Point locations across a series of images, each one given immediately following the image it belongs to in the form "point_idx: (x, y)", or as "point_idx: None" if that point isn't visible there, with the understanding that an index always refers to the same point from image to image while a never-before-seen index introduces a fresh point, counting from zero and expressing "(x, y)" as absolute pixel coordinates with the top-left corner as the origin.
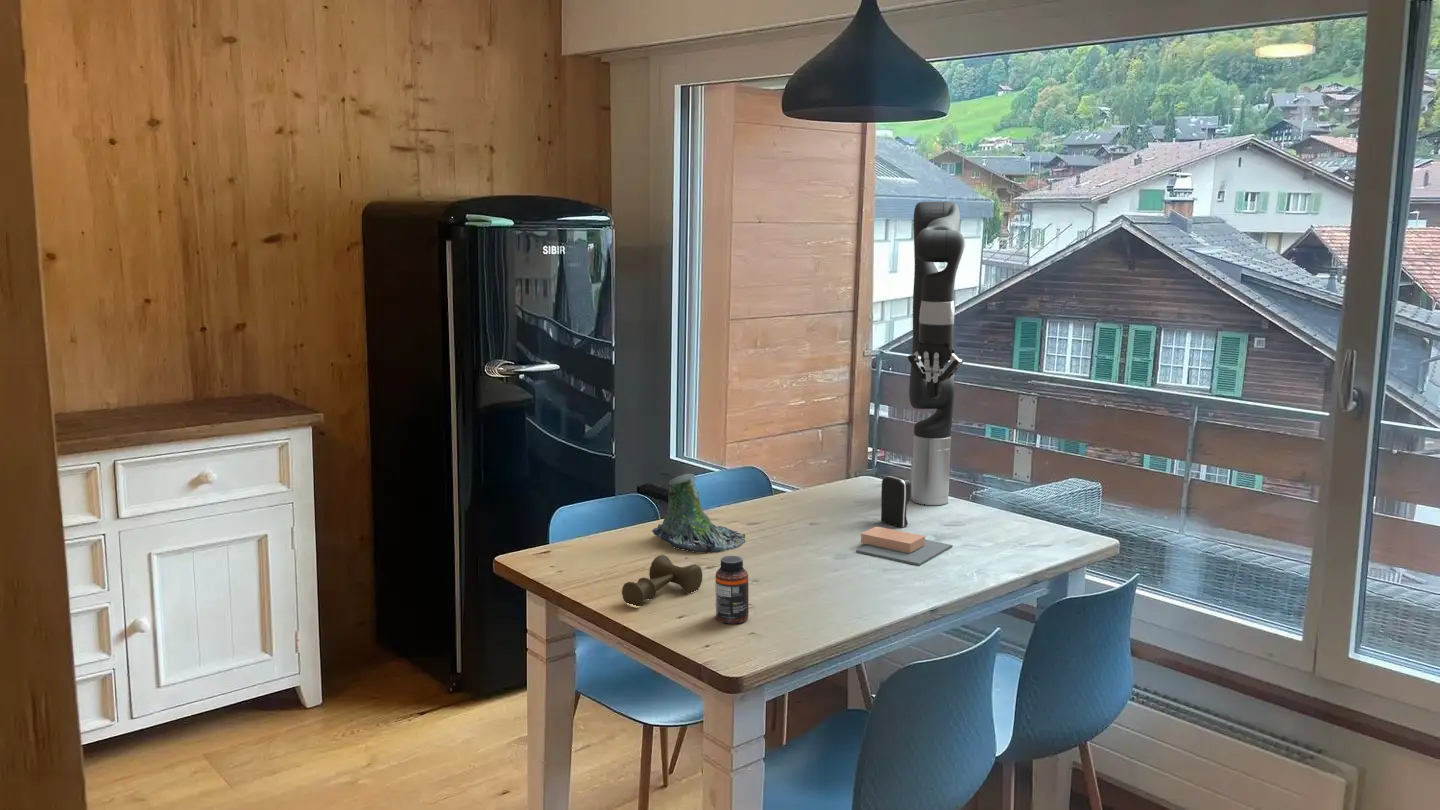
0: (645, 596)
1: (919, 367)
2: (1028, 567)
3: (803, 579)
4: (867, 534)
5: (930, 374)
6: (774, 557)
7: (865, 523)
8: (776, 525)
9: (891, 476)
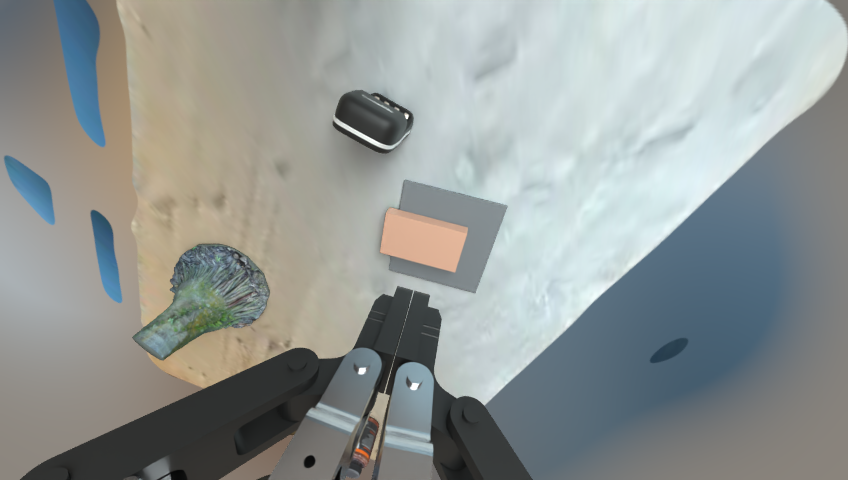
0: None
1: (244, 462)
2: (625, 256)
3: None
4: (388, 253)
5: (356, 445)
6: (319, 307)
7: None
8: (247, 197)
9: (347, 121)
